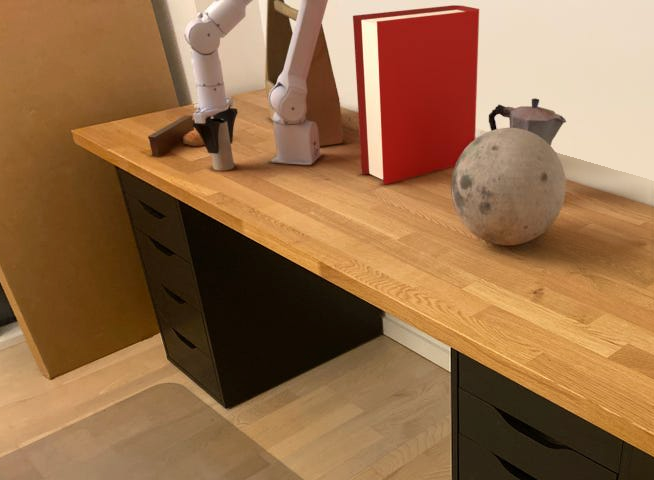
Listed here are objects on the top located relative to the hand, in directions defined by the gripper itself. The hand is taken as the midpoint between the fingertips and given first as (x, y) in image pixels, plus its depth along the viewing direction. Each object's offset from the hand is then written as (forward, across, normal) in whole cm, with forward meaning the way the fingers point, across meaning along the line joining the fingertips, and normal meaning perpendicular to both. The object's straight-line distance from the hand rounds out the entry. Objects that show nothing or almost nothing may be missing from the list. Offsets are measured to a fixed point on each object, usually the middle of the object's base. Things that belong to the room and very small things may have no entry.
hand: (220, 147), depth 158 cm
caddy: (+5, -31, +8) cm, 32 cm away
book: (+5, -10, +43) cm, 44 cm away
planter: (+5, 0, 0) cm, 5 cm away
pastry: (+5, -16, -12) cm, 21 cm away
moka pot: (+5, +4, +67) cm, 67 cm away
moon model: (+5, +26, +66) cm, 71 cm away
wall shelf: (+4, -13, -18) cm, 23 cm away
